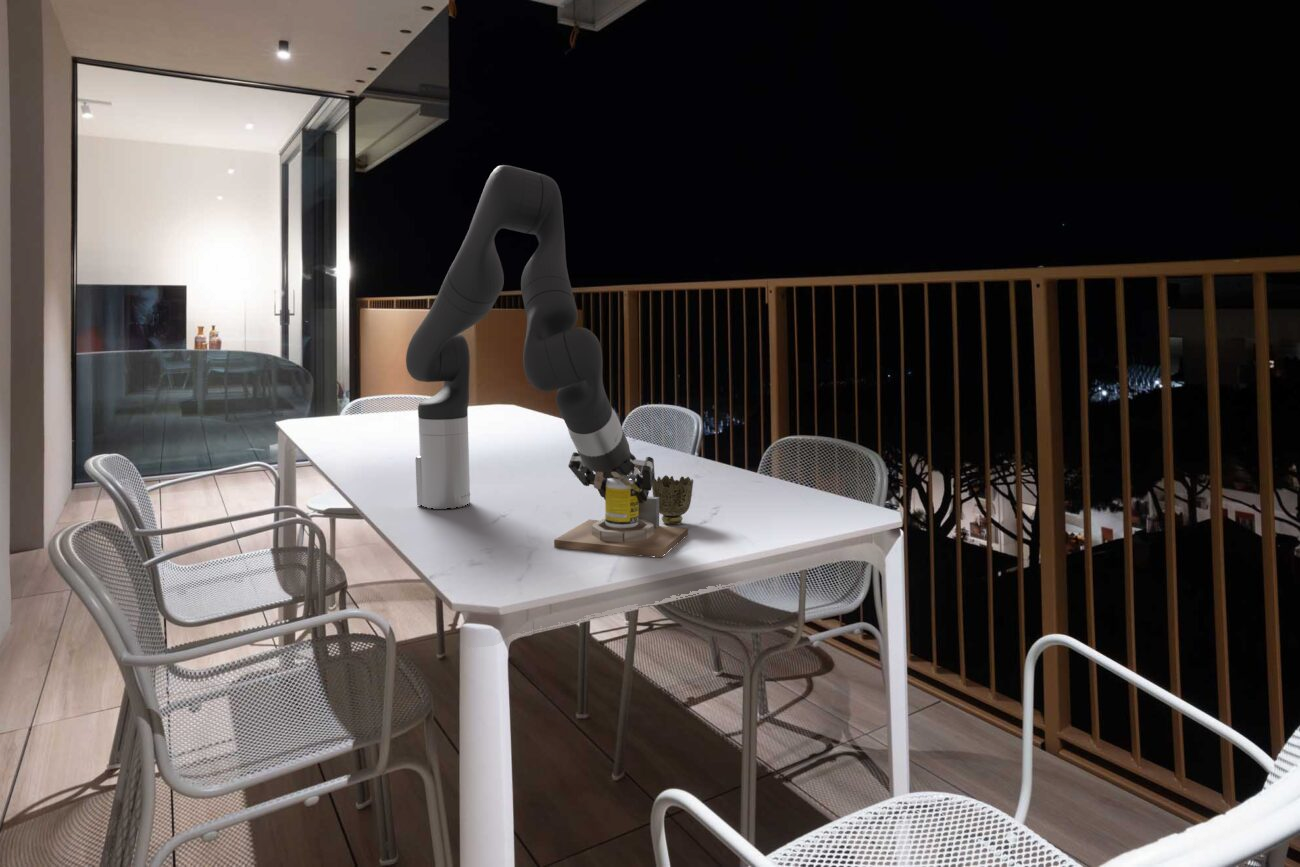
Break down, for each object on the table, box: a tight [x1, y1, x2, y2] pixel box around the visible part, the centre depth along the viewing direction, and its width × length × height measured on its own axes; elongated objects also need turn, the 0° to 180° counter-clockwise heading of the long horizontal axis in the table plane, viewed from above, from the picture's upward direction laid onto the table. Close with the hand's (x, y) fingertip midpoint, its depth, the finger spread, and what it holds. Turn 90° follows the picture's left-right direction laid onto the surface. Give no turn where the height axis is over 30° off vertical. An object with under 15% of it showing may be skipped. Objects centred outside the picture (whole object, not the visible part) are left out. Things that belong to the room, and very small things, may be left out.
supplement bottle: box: [604, 478, 639, 528], centre depth 132 cm, size 5×5×10 cm
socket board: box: [553, 495, 689, 558], centre depth 133 cm, size 18×14×6 cm
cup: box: [651, 474, 694, 526], centre depth 145 cm, size 8×7×8 cm
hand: (626, 497), depth 134 cm, fingers closed on supplement bottle, 5 cm apart
